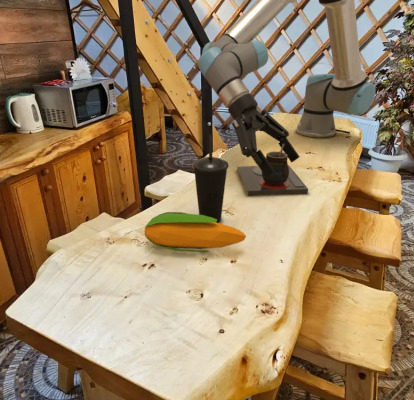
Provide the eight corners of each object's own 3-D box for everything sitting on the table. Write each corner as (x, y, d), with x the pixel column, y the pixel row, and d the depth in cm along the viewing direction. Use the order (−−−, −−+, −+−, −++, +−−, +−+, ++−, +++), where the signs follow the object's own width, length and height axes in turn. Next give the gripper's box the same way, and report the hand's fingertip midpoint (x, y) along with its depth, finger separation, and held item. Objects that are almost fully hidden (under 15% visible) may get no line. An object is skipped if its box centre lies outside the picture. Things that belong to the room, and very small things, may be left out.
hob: (288, 169, 113) (288, 164, 113) (307, 194, 97) (308, 188, 96) (236, 171, 112) (237, 165, 111) (247, 196, 96) (248, 190, 95)
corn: (148, 202, 75) (247, 207, 73) (151, 233, 78) (245, 239, 76) (138, 222, 68) (246, 229, 66) (142, 255, 72) (244, 262, 70)
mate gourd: (257, 185, 98) (259, 149, 94) (265, 175, 104) (267, 141, 100) (284, 189, 96) (288, 152, 91) (290, 179, 102) (294, 144, 97)
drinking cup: (188, 215, 86) (186, 131, 77) (218, 209, 89) (219, 128, 80) (200, 231, 80) (200, 141, 71) (232, 224, 82) (236, 137, 74)
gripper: (254, 102, 110) (295, 161, 108) (201, 118, 92) (248, 188, 90) (271, 86, 104) (314, 147, 102) (218, 99, 87) (268, 173, 85)
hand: (283, 166), depth 96 cm, fingers open, 13 cm apart
